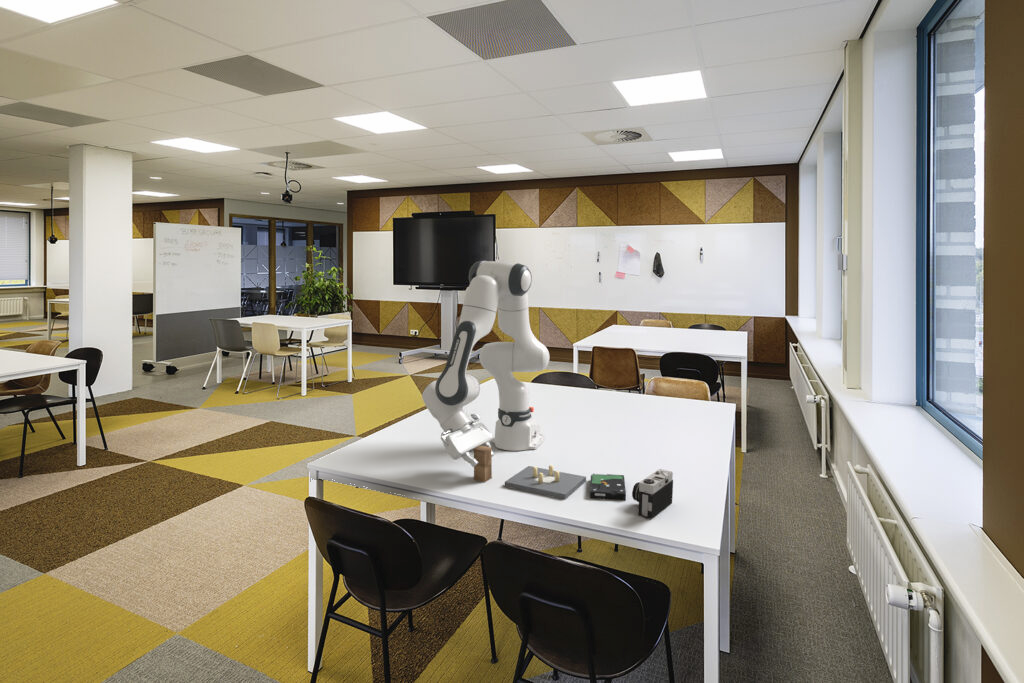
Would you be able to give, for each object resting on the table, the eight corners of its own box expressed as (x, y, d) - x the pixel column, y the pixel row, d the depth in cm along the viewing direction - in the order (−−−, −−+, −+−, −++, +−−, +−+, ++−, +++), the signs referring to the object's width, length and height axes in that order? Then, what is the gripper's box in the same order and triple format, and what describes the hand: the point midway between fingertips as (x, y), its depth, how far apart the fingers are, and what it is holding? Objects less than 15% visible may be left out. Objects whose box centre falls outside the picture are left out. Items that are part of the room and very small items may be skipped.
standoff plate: (528, 470, 183) (528, 457, 182) (586, 481, 173) (586, 467, 173) (504, 486, 169) (504, 472, 168) (565, 499, 159) (565, 484, 159)
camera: (649, 495, 162) (651, 462, 161) (677, 506, 156) (680, 472, 154) (621, 509, 153) (623, 474, 151) (650, 521, 146) (652, 485, 145)
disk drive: (626, 502, 159) (623, 482, 173) (626, 493, 158) (624, 474, 173) (589, 500, 160) (590, 481, 175) (589, 491, 160) (590, 472, 174)
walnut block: (480, 476, 178) (480, 445, 176) (491, 478, 176) (491, 447, 175) (474, 480, 174) (473, 449, 173) (484, 482, 172) (484, 451, 171)
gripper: (444, 428, 167) (471, 464, 164) (480, 413, 185) (506, 446, 181) (432, 440, 170) (459, 476, 166) (469, 424, 188) (494, 457, 184)
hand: (484, 460), depth 174 cm, fingers open, 8 cm apart
